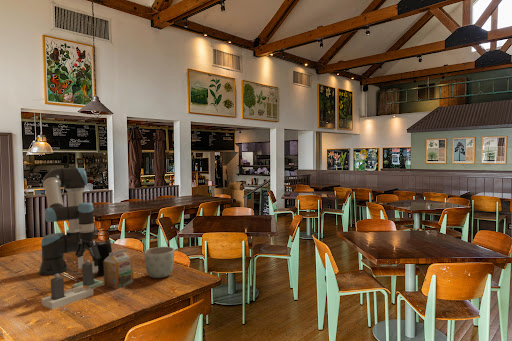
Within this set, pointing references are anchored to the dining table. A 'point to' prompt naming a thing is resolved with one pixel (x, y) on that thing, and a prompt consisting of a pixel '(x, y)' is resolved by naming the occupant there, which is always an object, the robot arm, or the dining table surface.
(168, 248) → the planter
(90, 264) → the plug
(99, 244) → the portable speaker
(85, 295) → the beige flat rimmed piece
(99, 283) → the tray
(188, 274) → the dining table surface
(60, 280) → the twin plug
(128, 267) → the milk carton
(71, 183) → the robot arm
